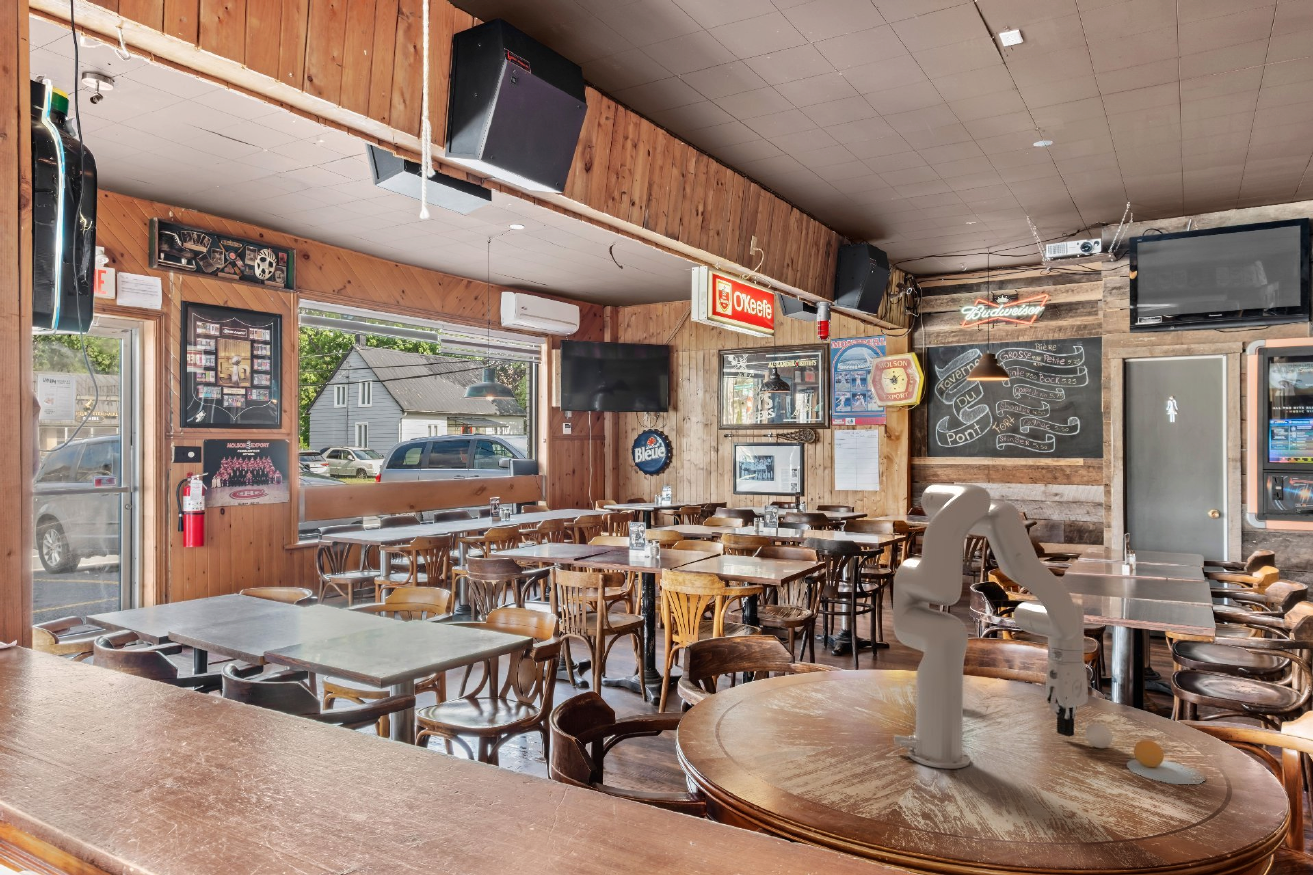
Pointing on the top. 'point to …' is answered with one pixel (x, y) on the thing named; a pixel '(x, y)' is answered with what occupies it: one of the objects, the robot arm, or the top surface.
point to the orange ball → (1148, 753)
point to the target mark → (1166, 772)
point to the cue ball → (1098, 735)
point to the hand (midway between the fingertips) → (1065, 734)
